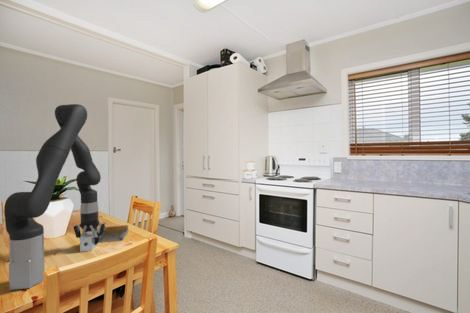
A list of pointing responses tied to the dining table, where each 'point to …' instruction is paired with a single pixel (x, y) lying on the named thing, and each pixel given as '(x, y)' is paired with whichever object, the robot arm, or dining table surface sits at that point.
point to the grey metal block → (87, 242)
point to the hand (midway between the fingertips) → (90, 244)
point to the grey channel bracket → (113, 233)
